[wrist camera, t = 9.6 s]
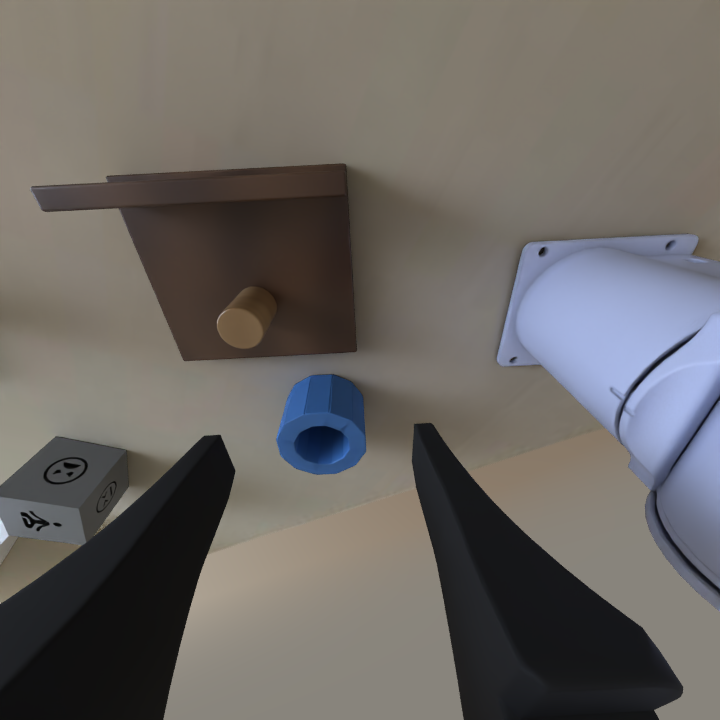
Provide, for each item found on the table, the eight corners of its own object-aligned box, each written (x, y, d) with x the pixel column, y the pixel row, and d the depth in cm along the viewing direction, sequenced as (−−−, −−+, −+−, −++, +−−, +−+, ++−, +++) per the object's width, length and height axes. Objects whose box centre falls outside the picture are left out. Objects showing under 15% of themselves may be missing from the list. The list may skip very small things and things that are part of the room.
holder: (346, 163, 14) (345, 159, 10) (356, 344, 20) (358, 391, 15) (118, 176, 14) (21, 176, 10) (190, 353, 20) (146, 403, 15)
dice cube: (55, 436, 23) (-11, 495, 19) (126, 450, 24) (78, 508, 20) (65, 475, 26) (8, 535, 21) (128, 486, 27) (87, 545, 22)
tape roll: (361, 372, 21) (364, 410, 17) (364, 429, 24) (367, 472, 20) (282, 376, 21) (269, 415, 17) (294, 433, 24) (285, 476, 20)
